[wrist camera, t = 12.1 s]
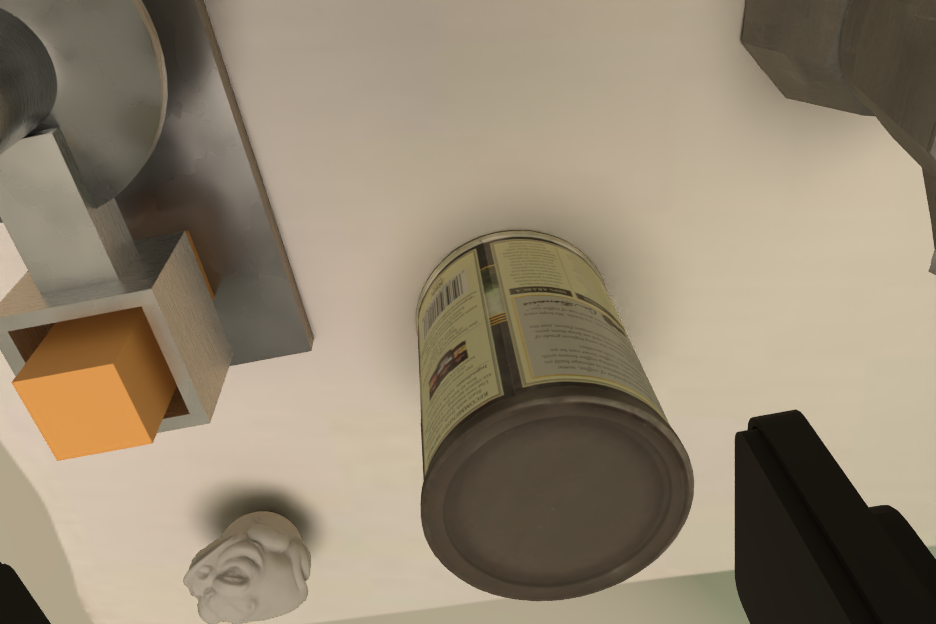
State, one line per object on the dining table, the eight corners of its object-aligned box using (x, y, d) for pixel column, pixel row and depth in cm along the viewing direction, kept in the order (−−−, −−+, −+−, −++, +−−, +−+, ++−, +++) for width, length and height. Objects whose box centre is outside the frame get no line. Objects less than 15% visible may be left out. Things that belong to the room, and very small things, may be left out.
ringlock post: (-127, -96, 30) (-932, -11, 12) (152, -153, 30) (-239, -156, 12) (109, 376, 42) (-120, 786, 23) (313, 338, 41) (242, 724, 23)
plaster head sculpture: (234, 465, 45) (208, 559, 39) (339, 513, 48) (329, 609, 42) (185, 530, 48) (153, 628, 42) (288, 573, 50) (272, 672, 44)
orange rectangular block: (112, 244, 37) (11, 382, 27) (188, 230, 37) (113, 363, 27) (142, 310, 39) (57, 460, 29) (214, 296, 38) (152, 443, 29)
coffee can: (581, 406, 45) (646, 612, 33) (401, 384, 43) (400, 593, 31) (635, 244, 40) (736, 416, 28) (434, 212, 38) (448, 381, 26)
